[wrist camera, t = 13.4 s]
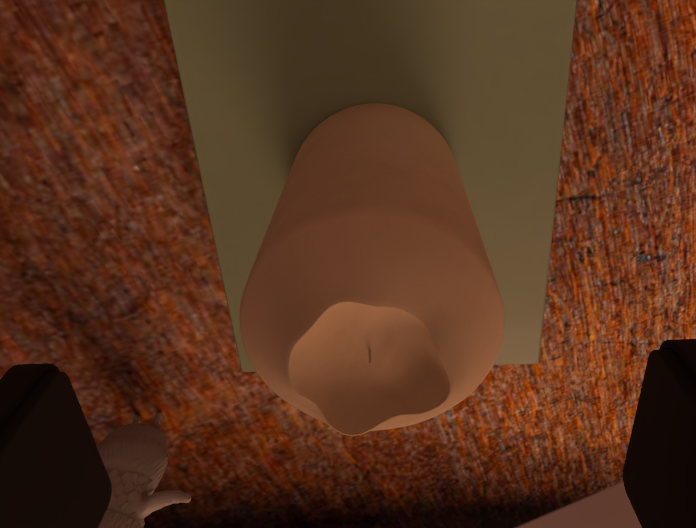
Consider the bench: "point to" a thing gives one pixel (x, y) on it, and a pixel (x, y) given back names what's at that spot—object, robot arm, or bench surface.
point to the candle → (372, 278)
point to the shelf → (387, 88)
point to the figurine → (136, 473)
